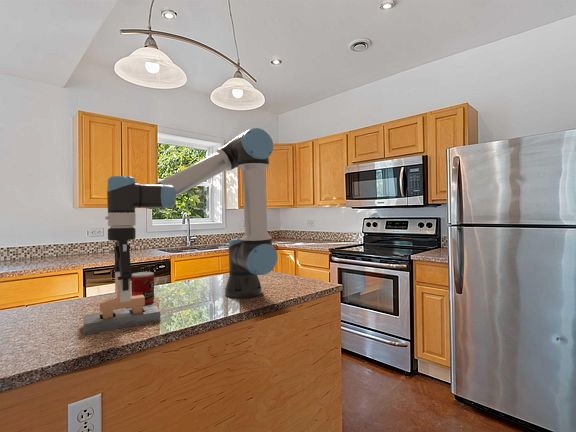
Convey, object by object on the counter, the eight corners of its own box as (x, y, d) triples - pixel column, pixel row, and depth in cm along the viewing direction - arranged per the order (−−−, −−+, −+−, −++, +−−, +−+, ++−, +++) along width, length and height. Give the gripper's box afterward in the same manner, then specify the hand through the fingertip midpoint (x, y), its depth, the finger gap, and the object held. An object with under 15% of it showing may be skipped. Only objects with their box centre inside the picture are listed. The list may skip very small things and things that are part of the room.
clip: (143, 317, 101) (142, 279, 100) (145, 320, 98) (144, 281, 98) (99, 325, 94) (99, 284, 94) (100, 329, 91) (99, 286, 91)
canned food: (145, 306, 114) (145, 275, 114) (126, 304, 115) (126, 275, 115) (158, 300, 121) (158, 272, 121) (140, 299, 123) (140, 271, 123)
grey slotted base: (154, 313, 105) (154, 304, 105) (160, 320, 98) (160, 311, 98) (83, 325, 94) (83, 315, 94) (84, 335, 86) (84, 324, 86)
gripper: (104, 226, 104) (105, 289, 104) (111, 229, 83) (112, 308, 83) (129, 225, 108) (130, 286, 108) (142, 228, 87) (142, 303, 87)
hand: (122, 296), depth 96 cm, fingers open, 13 cm apart
